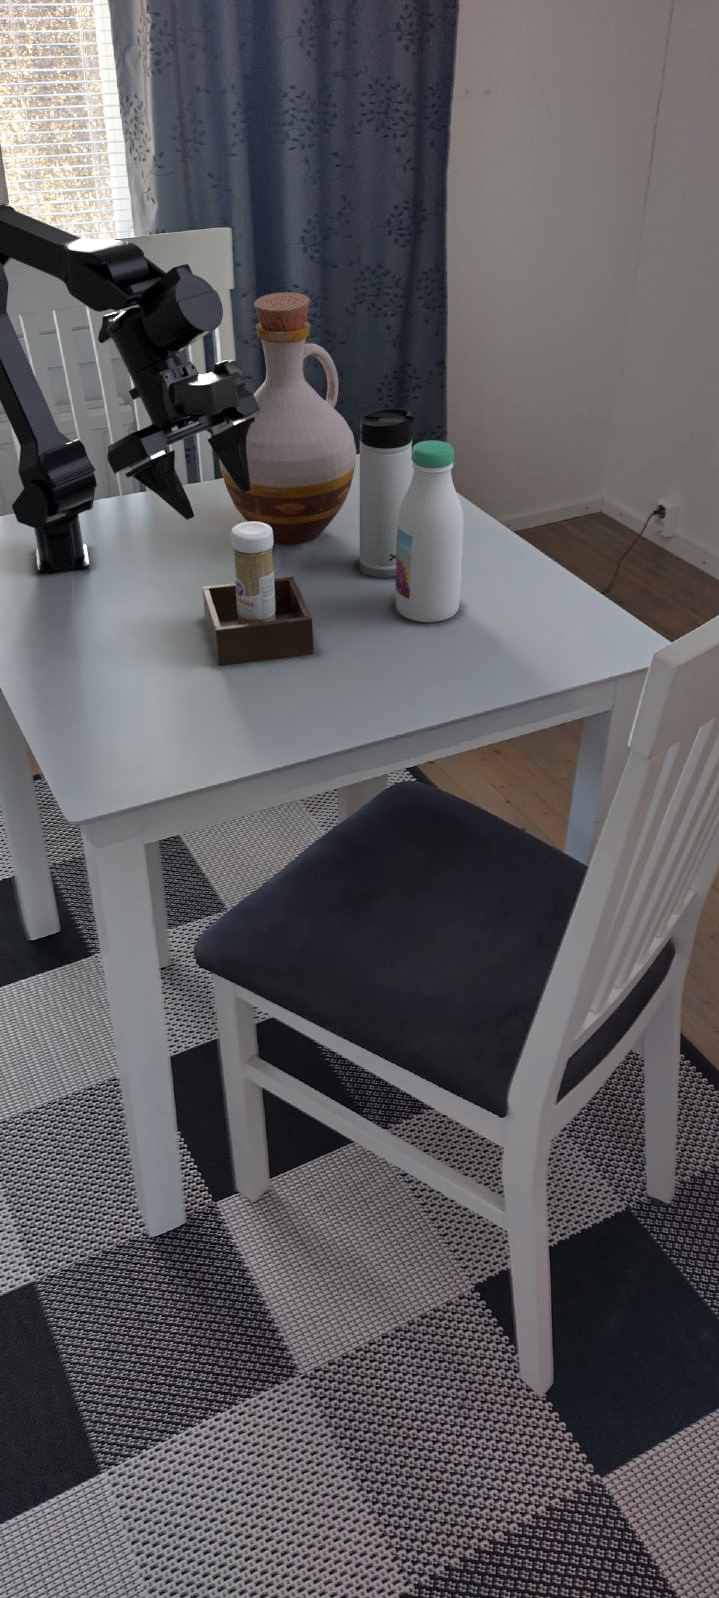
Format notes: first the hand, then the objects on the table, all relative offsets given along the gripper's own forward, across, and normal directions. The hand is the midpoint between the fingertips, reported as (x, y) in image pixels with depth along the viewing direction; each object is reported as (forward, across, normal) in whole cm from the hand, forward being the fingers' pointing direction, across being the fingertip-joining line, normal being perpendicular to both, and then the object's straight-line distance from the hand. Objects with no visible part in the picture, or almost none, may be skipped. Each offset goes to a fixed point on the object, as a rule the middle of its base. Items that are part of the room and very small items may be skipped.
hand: (219, 504), depth 130 cm
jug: (+8, +25, +17) cm, 31 cm away
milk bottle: (+21, +17, -7) cm, 28 cm away
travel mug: (+16, +23, +2) cm, 28 cm away
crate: (+15, 0, +3) cm, 16 cm away
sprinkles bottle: (+15, 0, +3) cm, 16 cm away
